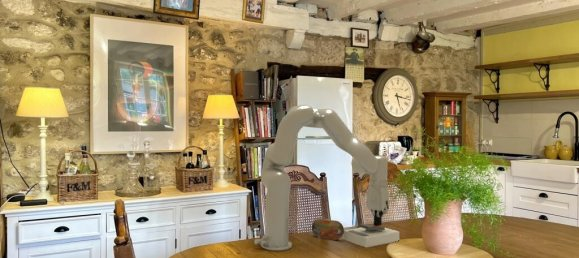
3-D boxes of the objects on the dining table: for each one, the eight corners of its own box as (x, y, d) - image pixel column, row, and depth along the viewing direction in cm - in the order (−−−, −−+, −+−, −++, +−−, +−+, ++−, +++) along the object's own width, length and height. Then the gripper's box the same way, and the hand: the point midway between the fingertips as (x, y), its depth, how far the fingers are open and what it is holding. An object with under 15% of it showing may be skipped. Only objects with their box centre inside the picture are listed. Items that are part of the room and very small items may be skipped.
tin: (311, 236, 193) (311, 217, 193) (314, 234, 195) (315, 216, 195) (341, 242, 184) (341, 222, 184) (344, 240, 187) (345, 221, 187)
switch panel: (366, 247, 176) (366, 236, 176) (343, 239, 188) (343, 229, 188) (399, 240, 188) (399, 230, 188) (375, 233, 199) (376, 223, 199)
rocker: (368, 229, 182) (368, 226, 182) (358, 226, 187) (358, 223, 187) (384, 230, 188) (384, 227, 188) (374, 227, 193) (374, 224, 193)
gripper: (360, 182, 194) (359, 222, 194) (385, 186, 181) (384, 229, 181) (372, 181, 198) (371, 220, 198) (397, 185, 185) (396, 227, 186)
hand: (377, 225), depth 190 cm, fingers closed
